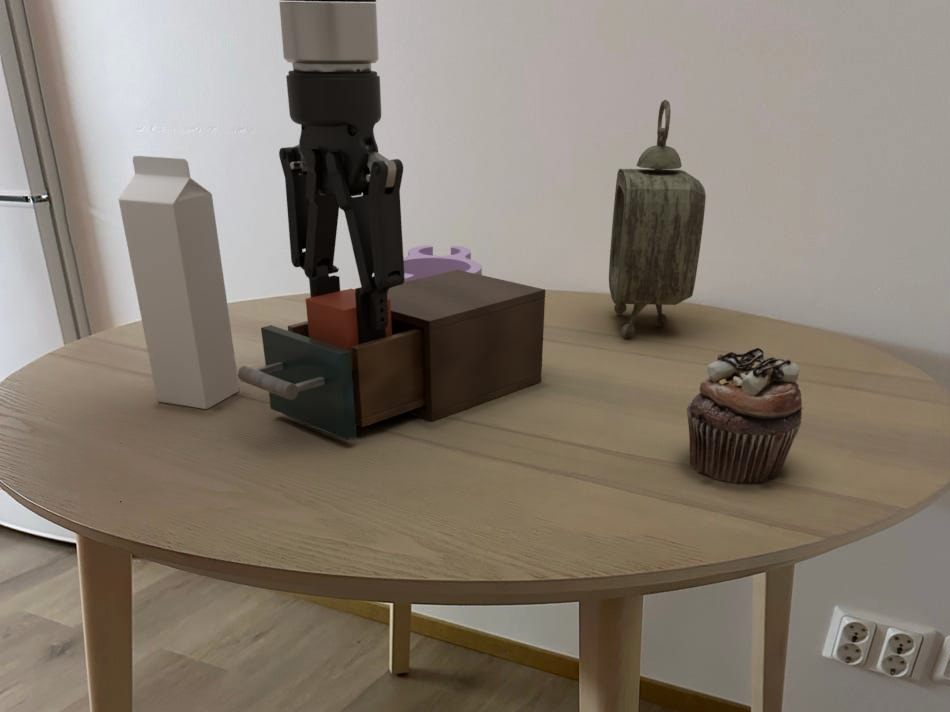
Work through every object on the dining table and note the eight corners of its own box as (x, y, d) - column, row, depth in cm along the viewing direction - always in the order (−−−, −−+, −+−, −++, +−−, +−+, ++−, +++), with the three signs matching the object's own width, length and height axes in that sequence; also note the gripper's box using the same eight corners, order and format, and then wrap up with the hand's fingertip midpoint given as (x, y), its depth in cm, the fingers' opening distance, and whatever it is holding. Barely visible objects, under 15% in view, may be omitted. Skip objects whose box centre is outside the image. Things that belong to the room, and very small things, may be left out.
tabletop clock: (605, 311, 124) (623, 95, 110) (672, 312, 124) (699, 96, 110) (613, 342, 112) (635, 104, 98) (688, 344, 112) (721, 106, 98)
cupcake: (812, 466, 81) (837, 352, 76) (752, 499, 76) (775, 379, 70) (719, 436, 87) (737, 328, 81) (657, 464, 81) (671, 351, 76)
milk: (192, 384, 98) (153, 151, 86) (241, 391, 96) (208, 155, 84) (156, 402, 93) (109, 158, 81) (206, 410, 92) (166, 162, 79)
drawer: (307, 454, 80) (297, 365, 76) (231, 421, 87) (218, 337, 83) (465, 398, 93) (465, 318, 88) (388, 372, 99) (385, 297, 95)
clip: (398, 297, 129) (396, 244, 125) (487, 299, 128) (488, 246, 124) (375, 338, 112) (371, 279, 108) (477, 341, 112) (477, 281, 108)
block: (310, 358, 87) (305, 298, 84) (355, 346, 91) (351, 288, 88) (348, 371, 84) (344, 310, 81) (393, 358, 88) (390, 298, 84)
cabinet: (431, 422, 90) (429, 321, 84) (347, 391, 97) (340, 296, 91) (541, 381, 100) (545, 289, 94) (457, 356, 107) (457, 269, 101)
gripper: (446, 71, 71) (448, 368, 84) (298, 62, 82) (321, 328, 95) (373, 74, 67) (388, 388, 80) (227, 64, 77) (260, 343, 90)
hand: (351, 355), depth 87 cm, fingers closed on block, 5 cm apart
